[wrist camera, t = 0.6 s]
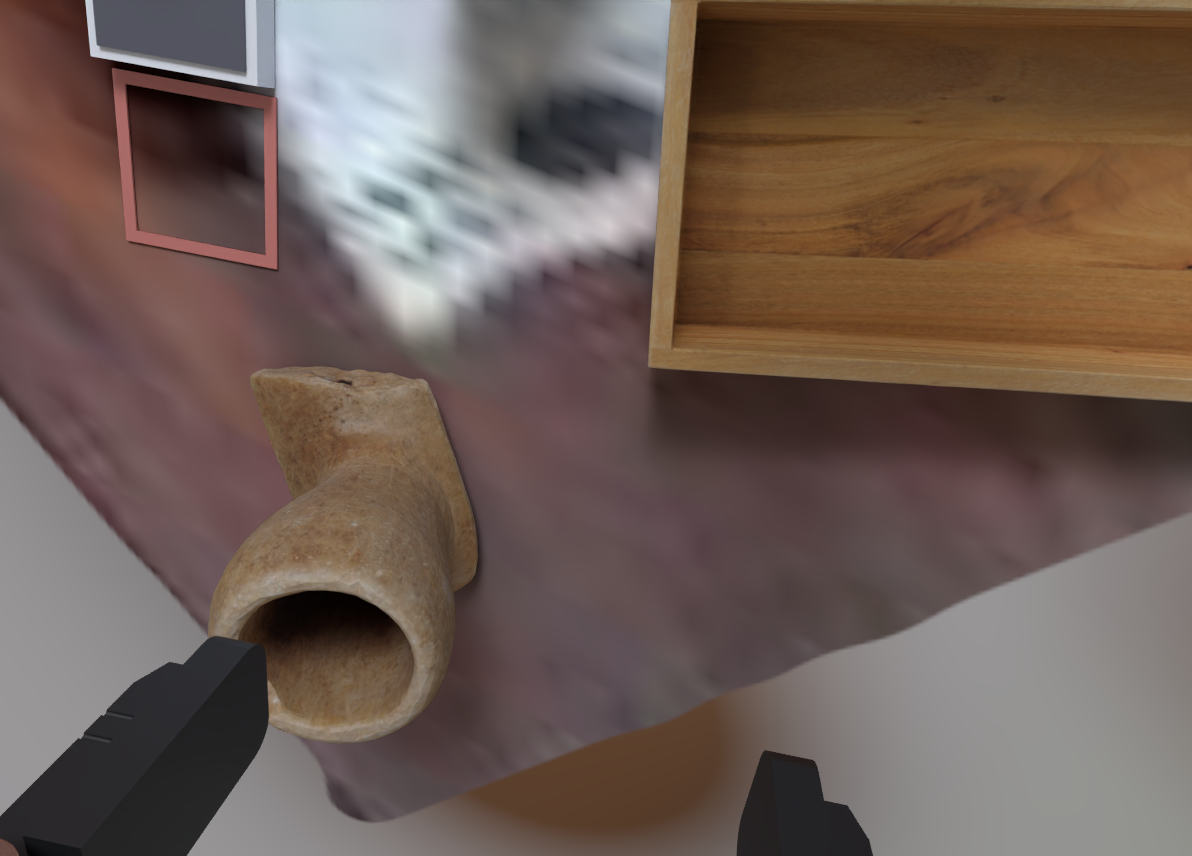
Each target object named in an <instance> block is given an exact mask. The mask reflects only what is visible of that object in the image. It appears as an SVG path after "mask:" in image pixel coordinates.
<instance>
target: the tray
mask: <svg viewBox="0 0 1192 856" xmlns="http://www.w3.org/2000/svg"><path fill="white" fill-rule="evenodd" d="M648 367H649V368H660V369H673V370H688V371H704V372H720V373H737V374H753V375H769V376H784V377H801V378H818V379H835V380H851V381H865V382H879V383H894V384H918V385H931V386H946V387H964V388H981V389H996V390H1011V391H1027V392H1042V393H1057V394H1072V395H1087V396H1102V397H1117V398H1132V399H1148V400H1163V401H1178V402H1192V0H671V9H670V24H669V39H668V54H667V69H666V85H665V100H664V115H663V131H662V146H661V161H660V177H659V193H658V209H657V226H656V242H655V258H654V274H653V290H652V306H651V323H650V339H649V355H648Z"/></svg>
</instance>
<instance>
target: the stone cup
mask: <svg viewBox="0 0 1192 856" xmlns="http://www.w3.org/2000/svg"><path fill="white" fill-rule="evenodd" d="M250 383H251V387H252V389H253V392H254V394H255V397H256V400H257V404H258V407H259V410H260V413H261V416H262V419H263V421H264V424H265V427H266V429H267V432H268V435H269V438H270V441H271V444H272V447H273V449H274V452H275V455H276V457H277V460H278V462H279V464H280V466H281V468H282V470H283V472H284V474H285V478H286V482H287V485H288V487H289V490H290V492H291V495H292V497H293V501H291V502H290V503H288V504H287V505H285V506H284V507H283V508H281V509H280V510H278V511H277V512H276V513H274V514H273V515H272V516H270V517H269V518H268V519H267V520H266V521H265V522H263V523H262V524H261V525H260V526H259V527H258V528H257V529H256V530H255V531H254V532H253V533H252V534H251V535H250V536H249V537H248V538H247V539H246V540H245V541H244V543H243V544H242V545H241V547H240V548H239V549H238V551H237V552H236V553H235V555H234V556H233V558H232V559H231V560H230V562H229V564H228V565H227V567H226V569H225V571H224V573H223V575H222V577H221V579H220V581H219V583H218V585H217V587H216V589H215V592H214V594H213V598H212V602H211V606H210V613H209V624H208V636H209V638H210V637H213V636H221V637H226V638H231V639H236V640H241V641H245V642H250V643H255V644H260V645H262V646H263V647H264V649H265V652H266V664H267V684H268V703H269V721H268V724H270V725H272V726H274V727H276V728H277V729H279V730H282V731H284V732H287V733H289V734H292V735H296V736H299V737H302V738H306V739H310V740H315V741H321V742H327V743H342V744H343V743H356V742H366V741H370V740H374V739H378V738H381V737H383V736H386V735H388V734H391V733H393V732H396V731H397V730H399V729H401V728H403V727H404V726H406V725H408V724H409V723H411V722H412V721H413V720H414V719H415V718H417V717H418V716H419V715H420V714H421V713H422V712H423V711H424V710H425V708H426V707H427V706H428V705H429V704H430V702H431V701H432V699H433V698H434V696H435V695H436V693H437V692H438V690H439V688H440V686H441V684H442V682H443V679H444V677H445V675H446V672H447V668H448V665H449V661H450V657H451V653H452V648H453V642H454V635H455V623H456V612H455V601H454V593H453V592H455V591H457V590H458V589H460V588H462V587H463V586H465V585H466V584H468V583H469V582H470V581H471V580H472V578H473V577H474V575H475V574H476V566H477V560H478V543H477V534H476V527H475V521H474V516H473V513H472V509H471V505H470V501H469V498H468V496H467V493H466V490H465V487H464V484H463V481H462V478H461V475H460V472H459V468H458V465H457V462H456V459H455V456H454V453H453V450H452V447H451V444H450V442H449V439H448V436H447V433H446V430H445V427H444V424H443V421H442V418H441V415H440V412H439V409H438V406H437V403H436V400H435V398H434V396H433V393H432V391H431V389H430V387H429V385H428V383H427V382H426V381H425V380H423V379H415V380H414V379H409V378H406V377H403V376H400V375H397V374H393V373H385V374H384V373H380V372H369V371H366V370H353V371H346V370H341V369H339V368H333V367H324V366H316V367H297V366H295V367H286V368H280V369H262V370H260V371H257V372H255V373H253V375H252V376H251V378H250Z"/></svg>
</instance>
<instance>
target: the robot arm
mask: <svg viewBox="0 0 1192 856" xmlns="http://www.w3.org/2000/svg"><path fill="white" fill-rule="evenodd" d="M268 721H269V703H268V684H267V664H266V652H265V649H264V647H263V646H262V645H260V644H255V643H250V642H245V641H241V640H236V639H231V638H226V637H221V636H213V637H210V638H209V639H207V640H206V641H205V642H204V643H203V644H202V645H201V646H200V647H199V648H198V650H196V652H195V653H194V654H193V655H192V656H191V657H190V658H189V659H188V660H187V661H186V662H185V663H184V664H183V665H182V664H177V663H172V662H169V663H167V664H165V665H164V666H162V667H160V668H158V669H157V670H155V671H153V672H151V673H150V674H148V675H146V676H145V677H143V678H141V679H139V680H138V681H136V682H134V683H133V684H132V685H131V686H130V687H129V688H128V689H127V690H126V691H125V692H124V693H123V694H122V695H121V696H120V697H119V698H118V699H117V700H116V701H115V702H114V703H113V704H112V705H111V706H110V707H109V708H108V709H107V712H106V714H105V715H104V716H102V715H101V716H100V717H99V718H98V719H97V720H96V721H95V722H94V723H93V724H92V725H91V726H90V727H89V728H88V729H87V730H86V731H85V732H84V735H83V737H82V738H81V739H79V738H78V739H77V740H76V741H75V742H74V743H73V744H72V745H71V746H70V747H69V748H68V749H67V750H66V751H65V752H64V753H63V754H62V755H61V756H60V757H59V758H58V759H57V760H56V761H55V762H54V763H53V764H52V765H51V766H50V767H49V768H48V769H47V770H46V771H45V772H44V773H43V774H42V775H41V776H40V777H39V778H38V779H37V780H36V781H35V782H34V783H33V784H32V785H31V786H30V787H29V788H28V789H27V790H26V791H25V792H24V793H23V794H22V795H21V796H20V797H19V798H18V799H17V800H16V801H15V802H14V803H13V804H12V805H11V806H10V807H9V808H8V809H7V810H6V811H5V812H4V813H3V814H2V815H1V816H0V856H187V854H188V853H189V851H190V850H191V848H192V847H193V846H194V844H195V843H196V841H197V840H198V838H199V837H200V835H201V834H202V833H203V831H204V830H205V828H206V827H207V825H208V824H209V822H210V821H211V820H212V818H213V817H214V815H215V814H216V812H217V811H218V809H219V808H220V806H221V805H222V804H223V802H224V801H225V799H226V798H227V796H228V795H229V793H230V792H231V791H232V789H233V788H234V786H235V785H236V783H237V782H238V781H239V779H240V778H241V776H242V775H243V773H244V772H245V770H246V769H247V768H248V766H249V765H250V763H251V762H252V760H253V759H254V757H255V756H256V754H257V752H258V750H259V749H260V746H261V744H262V742H263V739H264V737H265V734H266V730H267V726H268ZM737 856H873V854H872V850H871V846H870V842H869V839H868V838H867V836H866V834H865V833H864V831H863V830H862V828H861V827H860V825H859V823H858V822H857V820H856V819H855V817H854V815H853V814H852V812H851V811H850V809H849V807H848V806H847V805H842V804H838V803H833V802H828V801H824V798H823V793H822V788H821V782H820V777H819V772H818V768H817V765H816V763H815V761H813V760H810V759H805V758H800V757H795V756H790V755H785V754H780V753H776V752H771V751H764V752H763V753H762V755H761V758H760V761H759V764H758V767H757V770H756V774H755V776H754V779H753V783H752V786H751V789H750V792H749V795H748V798H747V801H746V804H745V807H744V810H743V814H742V817H741V821H740V826H739V832H738V841H737Z"/></svg>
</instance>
